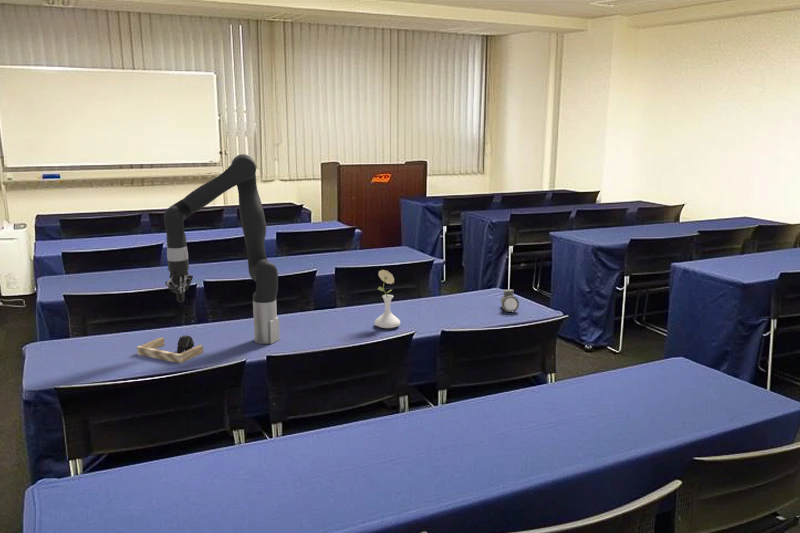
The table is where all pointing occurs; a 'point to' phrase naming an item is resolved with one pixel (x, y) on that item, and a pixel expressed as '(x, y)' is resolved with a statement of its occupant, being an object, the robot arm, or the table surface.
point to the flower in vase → (387, 304)
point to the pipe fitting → (509, 301)
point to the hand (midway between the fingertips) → (180, 301)
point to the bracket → (151, 351)
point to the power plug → (184, 344)
